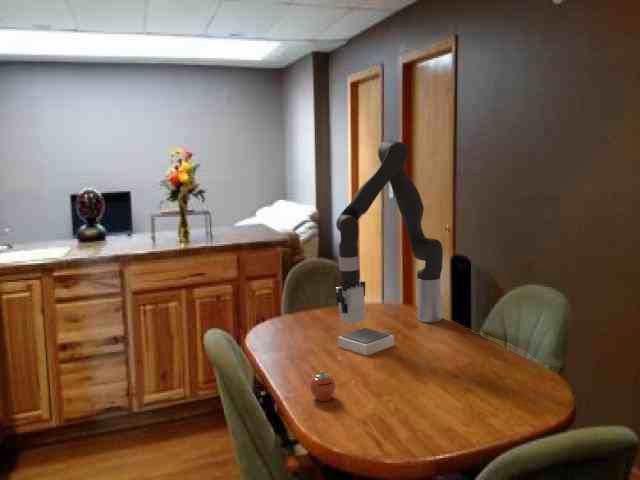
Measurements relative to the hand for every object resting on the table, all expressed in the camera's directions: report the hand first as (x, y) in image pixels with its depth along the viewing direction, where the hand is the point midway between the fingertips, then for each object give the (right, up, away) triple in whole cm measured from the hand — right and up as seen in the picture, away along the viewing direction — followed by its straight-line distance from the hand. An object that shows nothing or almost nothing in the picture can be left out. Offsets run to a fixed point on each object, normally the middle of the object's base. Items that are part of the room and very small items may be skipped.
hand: (351, 310), depth 219 cm
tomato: (-11, -18, -57) cm, 60 cm away
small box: (0, -4, +1) cm, 4 cm away
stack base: (+4, -11, -14) cm, 18 cm away
